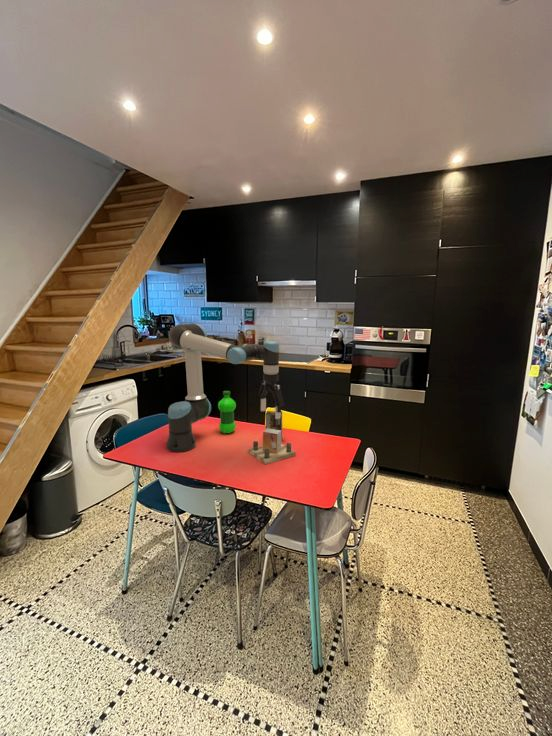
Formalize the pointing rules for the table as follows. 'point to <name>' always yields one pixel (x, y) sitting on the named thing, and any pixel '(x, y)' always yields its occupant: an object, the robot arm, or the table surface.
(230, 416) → the plastic bottle
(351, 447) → the table surface
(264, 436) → the small box
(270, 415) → the coffee box
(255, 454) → the peg board
